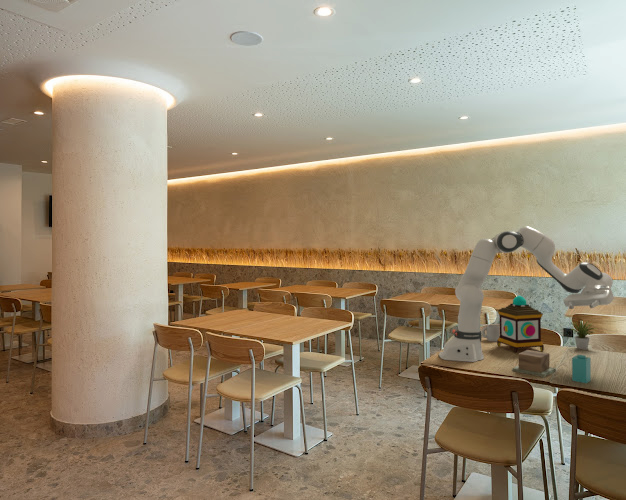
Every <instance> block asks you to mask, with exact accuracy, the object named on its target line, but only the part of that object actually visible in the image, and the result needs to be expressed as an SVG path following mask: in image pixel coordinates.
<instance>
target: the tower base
mask: <svg viewBox="0 0 626 500" xmlns="http://www.w3.org/2000/svg"><path fill="white" fill-rule="evenodd" d="M517 354H518V365H515V366H514V367H512V368H511V369H512V372H516V373H520V374H525V373H526V375H530V374H532V375H531V376H534V375H537V376H536V377H539V376H541V377H540V378H545V377H547V376H549V375H550V374H552V372H553V373H555V372H556V370H557V368H555V367H550V353H549V352H544V351H538V350H537V351H536V350H532V349H531V350H530V349H526V350H524V351H522V352H519V353H517ZM548 374H549V375H548ZM546 375H547V376H546ZM544 376H545V377H544Z"/></svg>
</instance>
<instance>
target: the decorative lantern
mask: <svg viewBox="0 0 626 500" xmlns="http://www.w3.org/2000/svg"><path fill="white" fill-rule="evenodd" d="M497 313H498V316H499V338H498V340H497V342H496V344H497V347H501V344H503V345H505V346H509V347H511V348H513V349H514V352H515V354H519V353H518V352H519V349H526V348H539V350H540V352H544V350H545V346H544V343H543V342H542V338H541V337H542V333H541V332H542V327H541V325H542V323H541V321H542V319H541V318H543V315H544V314H543V313H542V312H541V311H539V310H538V309H535V308H533V307H532V306H530V305H529V304H527V300H526V299H525V298H524V297H523V296H521V295H517V296H515V297H514V298H513V299H512V303H509V305H507V306H505V307H501V308H499V309H498V310H497Z"/></svg>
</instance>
